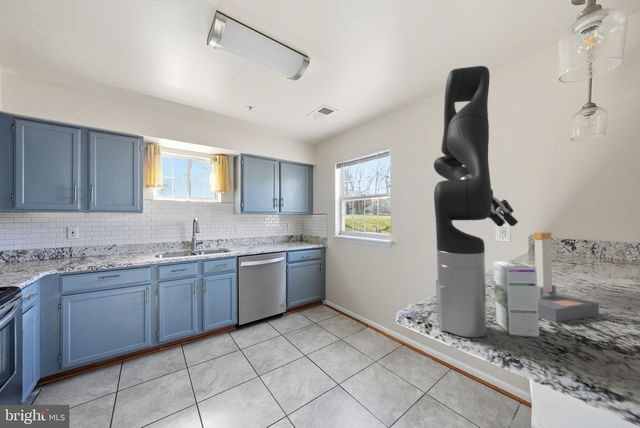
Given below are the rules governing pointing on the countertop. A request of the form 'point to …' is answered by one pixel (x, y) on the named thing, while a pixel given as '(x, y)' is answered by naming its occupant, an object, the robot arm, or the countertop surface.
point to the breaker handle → (543, 260)
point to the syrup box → (516, 298)
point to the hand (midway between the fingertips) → (508, 224)
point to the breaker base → (564, 306)
